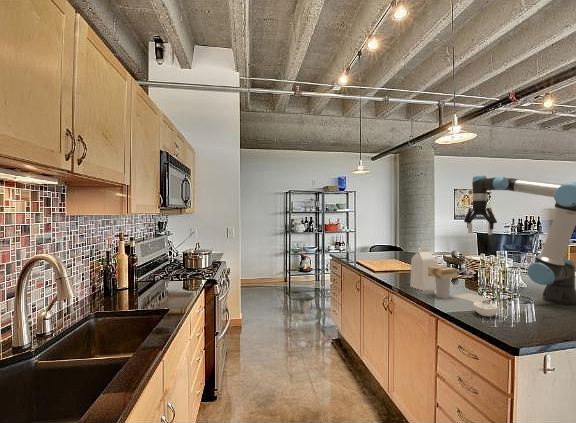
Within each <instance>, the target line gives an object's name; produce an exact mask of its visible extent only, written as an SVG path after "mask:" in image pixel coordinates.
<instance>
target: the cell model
mask: <svg viewBox="0 0 576 423" xmlns="http://www.w3.org/2000/svg"><path fill="white" fill-rule="evenodd" d="M473 309H474V312H477V313H478V314H479V315H480V316H482V317H489V318H490V317H493V316H495V315H496V314H498V312H499V309H500V308H499V306H498V305H497V304H495V303H492V302H490V300H483V301H480V302H473Z"/></svg>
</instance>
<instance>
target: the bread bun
mask: <svg viewBox="0 0 576 423" xmlns="http://www.w3.org/2000/svg"><path fill="white" fill-rule="evenodd" d="M428 276H432V277H436V278H440V279H450V278H451V279H457V278H458V268H455V267H449V266H445V265H444V266H443V265H437V266H434V267H428ZM451 279H450V280H451Z"/></svg>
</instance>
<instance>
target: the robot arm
mask: <svg viewBox="0 0 576 423" xmlns="http://www.w3.org/2000/svg"><path fill="white" fill-rule="evenodd" d="M471 184H472V207H473V208H472V207H469V208H468V209H467V210H468V211H467V213H466V216H465V218H464V220H463V221H464V223H466V227H467V233H468V234H473V223H472V221H473V220H474V219H475V218H476V217H477V216H483V217H484V219H485V220H486V221H487V223H488V224H487V234H488V235H489V236H491V235H493V230H494V225H495V224H497V223H498V221H497V218H496V217H495V215H494V213H493V209H492V207H487V205H488V204H487V198H488V197H487V196H488V194H487V191H510V192H516V193H517V192H518V193H524V194H530V195H535V196H542V197H551V198H553V199H554V201H555V204H554V209H556V212H555V214H554V218H553V220H552V223H551V226H550V228H549V232H548V235H547V236H546V240H545V243H544V246H543V248H542V251H541V253H540V254H537V255H536V256H535V259H534V262H532V263H530V264H529V266H528V267H527V275H528V277H529V278H530V280H531V281H533V282H534V283H535V284H537V285H542V286H545V287H544V290H543V292H542V300H544V301H547V302H550V303H553V304H554V303H555V304H559V305H568V306H569V305H570V306H575V305H576V265H575V261H574V260H572V259H563V258H564V256H565V254H566V251H567V249H568V246H569V243H570V241H571V239H572V235H573V232H574V230H575V227H576V182H575V181H571V182H565V183H563V184H562V183H555V182H547V181H546V182H545V181H538V180H537V181H536V180H527V179H520V178H512V177H510V178H509V177H505V176H498V177H489V178H488V177H487V176H486V175H475V176H473V177H472V183H471Z"/></svg>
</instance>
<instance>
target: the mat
mask: <svg viewBox="0 0 576 423" xmlns="http://www.w3.org/2000/svg"><path fill="white" fill-rule="evenodd" d="M452 297H454V298H455V297H456V298H459V299H462V300H465V301H469V302H472V303H474V302H482V301H483V300H487V301H491V300H493V299H492V298H489V297H485V296H481V295H478V294H474V293H471V292H467V293H460V294H453V295H452Z"/></svg>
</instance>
